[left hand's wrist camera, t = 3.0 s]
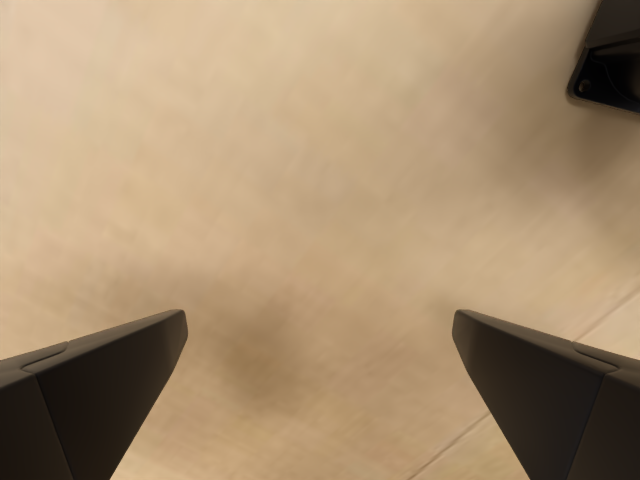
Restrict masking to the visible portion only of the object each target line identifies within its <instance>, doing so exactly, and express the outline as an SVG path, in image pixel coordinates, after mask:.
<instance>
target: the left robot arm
mask: <svg viewBox="0 0 640 480" xmlns="http://www.w3.org/2000/svg"><path fill="white" fill-rule="evenodd" d="M581 82H583V83H584V88H583V90H582V91H579V85H580V83H581ZM568 94H569V95H570V96H571V97H572V98H575V99H579V100H583V101H587V102H591V103H595V104H599V105H603V106H606V107H610V108H614V109H618V110H622V111H626V112H630V113H634V114H638V115H640V0H603V1H602V3H601V6H600V8H599V10H598V13H597V15H596V17H595V20H594V22H593V24H592V26H591V29H590V31H589V33H588V36H587V38H586V40H585V48H584V50H583V52H582V55H581V57H580V59H579V62H578V64H577V66H576V68H575V71H574V73H573V75H572V78H571V80H570V82H569V85H568ZM187 337H188V328H187V322H186V316H185V312H184V311H183V310H169V311H166V312H162V313H159V314H156V315H152V316H149V317H146V318H143V319H139V320H136V321H133V322H130V323H126V324H123V325H120V326H116V327H113V328H110V329H107V330H103V331H100V332H97V333H94V334H90V335H87V336H84V337H80V338H77V339H74V340H71V341H69V342H67V341H66V342H63V343H59V344H56V345H53V346H49V347H46V348H42V349H39V350H36V351H32V352H29V353H25V354H22V355H18V356H14V357H11V358H7V359H3V360H0V480H110V478H111V477H112V475H113V473H114V472H115V470H116V468H117V466H118V465H119V463H120V461H121V460H122V458H123V456H124V454H125V453H126V451H127V449H128V448H129V446H130V444H131V443H132V441H133V439H134V437H135V436H136V434H137V432H138V431H139V429H140V427H141V426H142V424H143V422H144V420H145V419H146V417H147V415H148V414H149V412H150V410H151V409H152V407H153V405H154V403H155V402H156V400H157V398H158V397H159V395H160V393H161V391H162V390H163V388H164V386H165V385H166V383H167V381H168V380H169V378H170V376H171V374H172V372H173V370H174V368H175V366H176V364H177V361H178V359H179V357H180V354H181V352H182V350H183V347H184V345H185V343H186V340H187ZM452 337H453V340H454V343H455V345H456V347H457V350H458V352H459V354H460V357H461V359H462V361H463V364H464V366H465V368H466V370H467V372H468V374H469V376H470V378H471V380H472V381H473V383H474V385H475V386H476V388H477V390H478V391H479V393H480V395H481V397H482V398H483V400H484V402H485V403H486V405H487V407H488V409H489V410H490V412H491V414H492V415H493V417H494V419H495V420H496V422H497V424H498V426H499V427H500V429H501V431H502V432H503V434H504V436H505V437H506V439H507V441H508V443H509V444H510V446H511V448H512V449H513V451H514V453H515V454H516V456H517V458H518V460H519V461H520V463H521V465H522V466H523V468H524V470H525V472H526V473H527V475H528V477H529V478H530V480H640V360H637V359H633V358H629V357H626V356H622V355H618V354H615V353H611V352H608V351H604V350H601V349H598V348H594V347H591V346H587V345H584V344H581V343H577V342H574V341H573V342H571V341H569V340H566V339H563V338H560V337H556V336H553V335H550V334H546V333H543V332H540V331H537V330H533V329H530V328H527V327H524V326H520V325H517V324H514V323H510V322H507V321H504V320H501V319H497V318H494V317H491V316H488V315H484V314H481V313H478V312H474V311H471V310H457V311H456V312H455V316H454V322H453V328H452Z"/></svg>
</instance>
